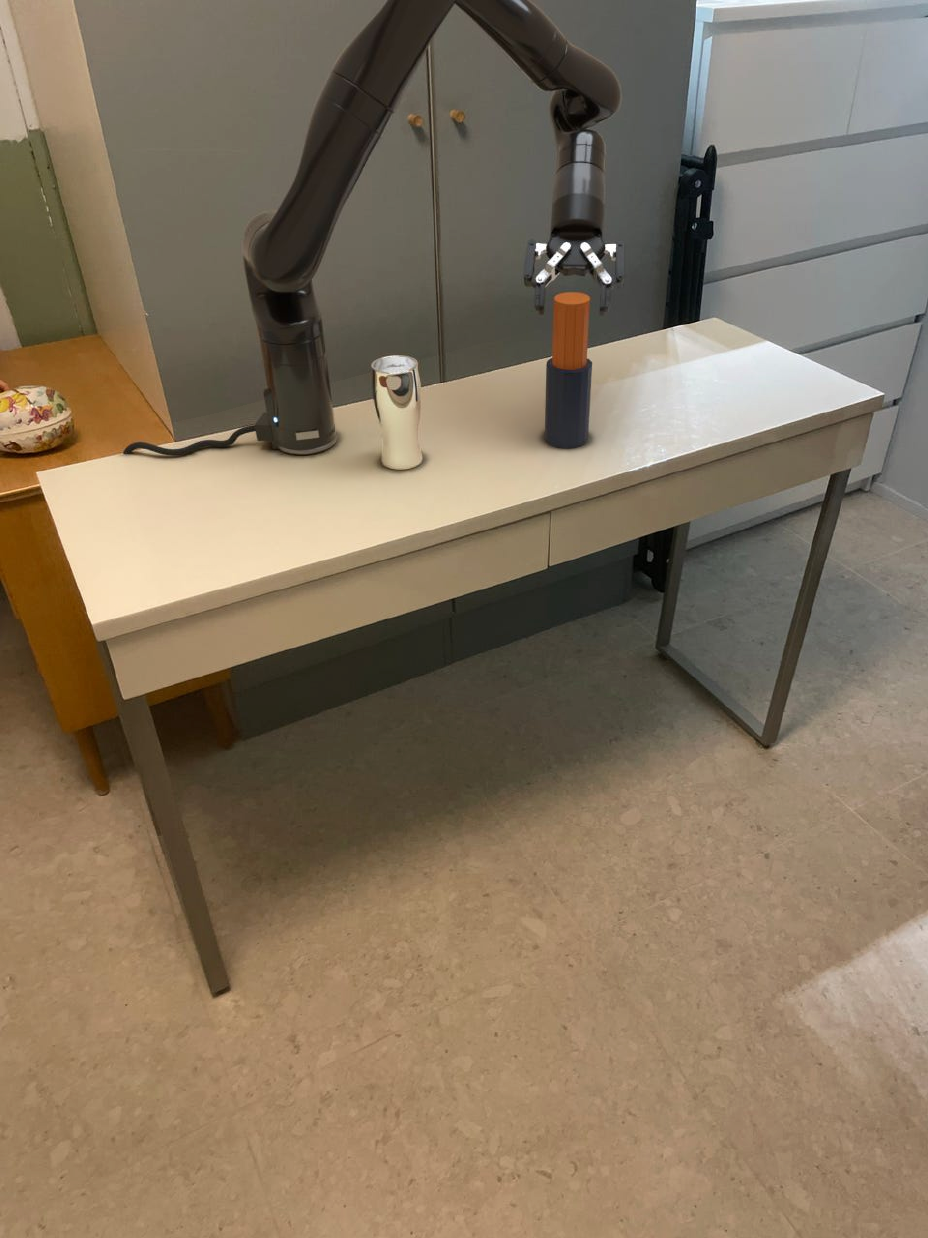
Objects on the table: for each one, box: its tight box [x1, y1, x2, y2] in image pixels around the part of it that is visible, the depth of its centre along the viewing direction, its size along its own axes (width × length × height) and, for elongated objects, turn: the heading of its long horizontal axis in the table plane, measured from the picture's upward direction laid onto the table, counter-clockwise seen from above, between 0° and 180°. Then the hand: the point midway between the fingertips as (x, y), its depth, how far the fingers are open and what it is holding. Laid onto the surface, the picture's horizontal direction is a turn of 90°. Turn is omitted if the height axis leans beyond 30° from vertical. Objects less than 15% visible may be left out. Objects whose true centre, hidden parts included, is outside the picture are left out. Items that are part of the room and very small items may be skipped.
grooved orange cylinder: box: [551, 291, 591, 370], centre depth 133 cm, size 5×5×10 cm
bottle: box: [544, 357, 593, 449], centre depth 138 cm, size 7×7×16 cm
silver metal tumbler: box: [370, 354, 423, 471], centre depth 135 cm, size 7×7×15 cm
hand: (571, 312), depth 132 cm, fingers open, 8 cm apart
